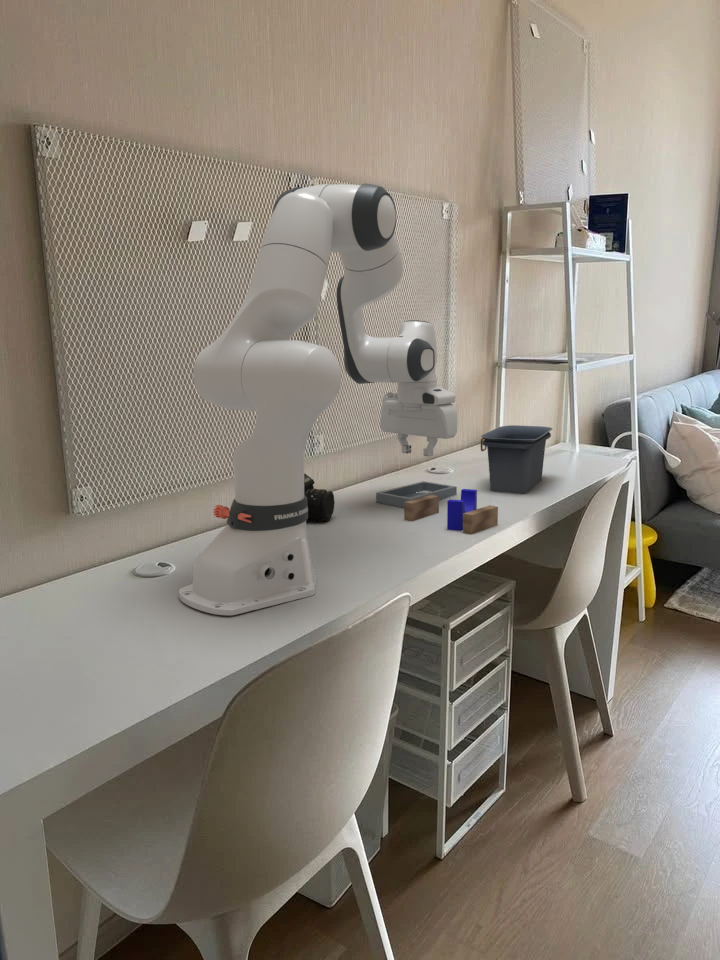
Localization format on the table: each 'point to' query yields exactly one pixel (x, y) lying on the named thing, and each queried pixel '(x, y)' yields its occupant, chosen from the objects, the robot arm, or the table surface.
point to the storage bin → (515, 457)
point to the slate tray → (414, 493)
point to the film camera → (318, 501)
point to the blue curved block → (460, 509)
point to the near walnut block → (480, 519)
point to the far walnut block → (421, 507)
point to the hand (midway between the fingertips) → (417, 454)
